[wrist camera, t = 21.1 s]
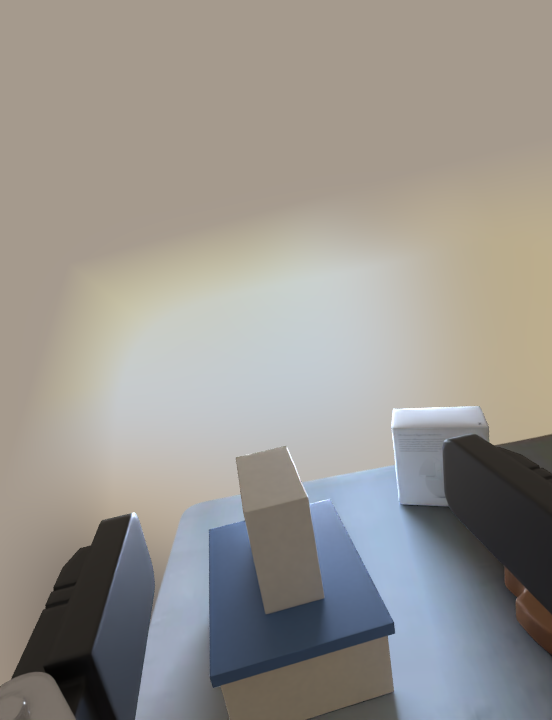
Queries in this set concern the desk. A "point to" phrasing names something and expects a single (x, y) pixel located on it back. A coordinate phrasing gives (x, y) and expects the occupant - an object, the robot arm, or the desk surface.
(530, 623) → the plant
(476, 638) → the desk surface
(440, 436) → the cosmetics box
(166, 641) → the desk surface
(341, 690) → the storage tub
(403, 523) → the desk surface
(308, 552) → the white case
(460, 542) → the desk surface
